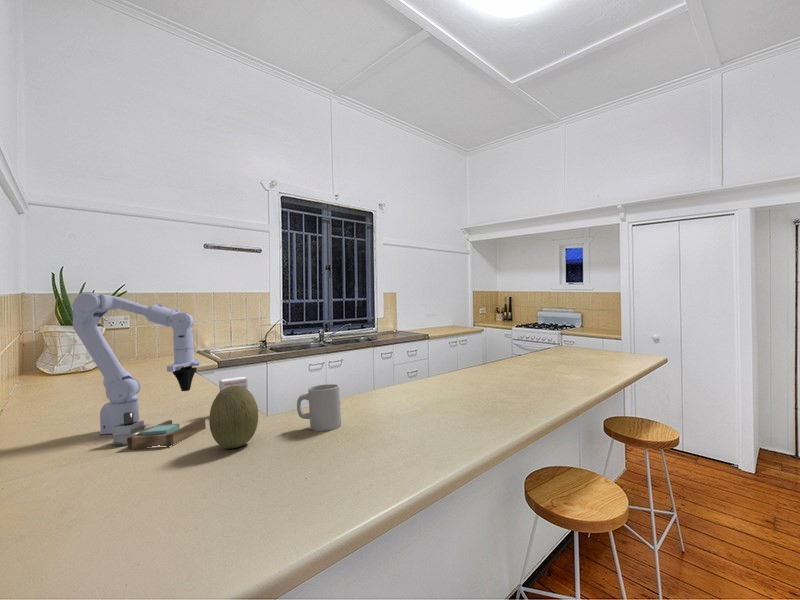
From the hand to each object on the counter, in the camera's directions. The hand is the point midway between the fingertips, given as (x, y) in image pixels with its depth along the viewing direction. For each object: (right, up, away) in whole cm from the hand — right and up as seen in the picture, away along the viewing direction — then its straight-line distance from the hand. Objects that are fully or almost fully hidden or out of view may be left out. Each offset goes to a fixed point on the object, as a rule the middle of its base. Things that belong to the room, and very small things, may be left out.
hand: (185, 390), depth 122 cm
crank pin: (-5, -7, -19) cm, 21 cm away
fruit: (+29, -7, -29) cm, 42 cm away
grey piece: (-5, -9, -19) cm, 22 cm away
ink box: (+13, -10, +7) cm, 18 cm away
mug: (+48, -6, -18) cm, 52 cm away
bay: (+6, -9, -18) cm, 21 cm away
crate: (+6, -9, -22) cm, 24 cm away
